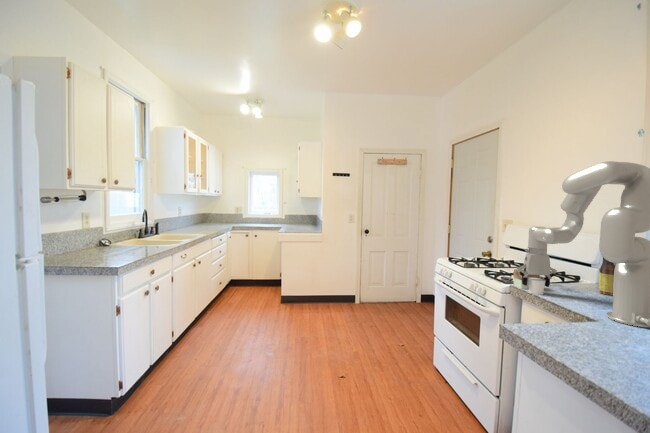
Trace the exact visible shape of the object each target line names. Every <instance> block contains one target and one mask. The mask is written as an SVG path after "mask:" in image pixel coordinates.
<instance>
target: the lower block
mask: <svg viewBox="0 0 650 433" xmlns="http://www.w3.org/2000/svg"><path fill="white" fill-rule="evenodd" d="M513 285H514V286H515V287H517V288H518V289H521V290H529V281H527V286H525V285H523V284H522V280H519V279H516V278H514V277H513Z"/></svg>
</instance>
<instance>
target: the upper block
mask: <svg viewBox="0 0 650 433" xmlns="http://www.w3.org/2000/svg"><path fill="white" fill-rule="evenodd" d="M521 271H522V273H523V272H524V269H522V270H521ZM531 277H532V278H540V277H541V275H530V274H529V275H528V276H527V277H526V278H527V281H528V278H531ZM514 278H516V279H519V280H522V276H521V275H520V274H519V273H518V271H517V269H515V268H514V269H513V279H514Z"/></svg>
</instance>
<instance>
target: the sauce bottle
mask: <svg viewBox="0 0 650 433" xmlns="http://www.w3.org/2000/svg"><path fill="white" fill-rule="evenodd" d="M601 257H602V262H601V265H600V268H599V270H598V279H599V280H598V290H599V293H600V294H601V295H602V294H603V295H606V296H612V297H613V283H614V270H615V266H616V264H615V263H612V262H609V261H607V260H606V259H605V258H604V257H603V256H602V255H601Z"/></svg>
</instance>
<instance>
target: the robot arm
mask: <svg viewBox="0 0 650 433" xmlns="http://www.w3.org/2000/svg"><path fill="white" fill-rule="evenodd" d="M605 185H623V186H624V188H623V191H622V193H621V195H620V205H619V207H614V208H611V209H610V210H607V211H606V212H605V213H604V215H603V216H602V218H601V222H600V229H599V231H600V233H599V245H598V247H599V252H600V255H601V257H602V256H603V257H604V258H605V259H606V260H607V261H609V262H612V263H614V264H615V270H614V283H613V296H612V311H608V312H606V317H607V318H608V317H609V318H608V319H610V320H611V321H614V320H615V321H614V322H616V323H621V324H623V323H624V324H623V325H627V324H628V326H632V325H633V327H637V326H638V327H637V328H647V329H649V328H650V240H649V239H647V238H645V237H640V236H636V234H640V233H642V234H643V233H645V232H646V233H647V232H648V231H650V167H648V166H646V165H643V164H641V163H640V164H639V163H635V162H628V161H613V160H612V161H603V162H599V163H596V164H594V165H591V166H589V167H587V168H583V169H582V170H579V171H576V172H575V173H572V174H570V175H569V176H567V177H566V178H565V179H564V180H563V181H562V184H561V187H562V188H561V189H562V191H563V192H564V193H566V196H565V198H564V199H563V201H562V202H561V204H560V209H562V211H564V212H565V213H566V218H565V220H564V221H563V224H562V225H561V226H560V227H544V226H530V227H529V229H528V240H527V241H528V242H527V243H528V246H527V248H525V249H524V252H526V254H525V256H524V261H523V265H521V266H518V267H516V269H517V271H518V273H519V274H520V275H521V276H522V284H523V285H525V286H527V278H526V277H527V276H528V275H529V274H530V275H540V276H544V278H543V279H544V280H545V287H547V288H549V287H550V284H551V279H552V278H553V277H555V275H556V274H557V269H555V268H553V267H551V261H550V259H551V258H550V255H548V245H558V244H559V245H560V244H568V243H571V242H573V240H575V239H576V238H577V236H578V235H579V233H580V232H581V230H582V229H583V225H584V220H585V218H584V214H585V212H586V210H587V209H588V208H589V207H590V205H591V203H592V202H593V200H594V199H595V197H596V196H597V194H599V192H600V191H601V188H602V187H603V186H605ZM603 257H602V258H603ZM522 269H524V272H523V273H522V271H521V270H522Z"/></svg>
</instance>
